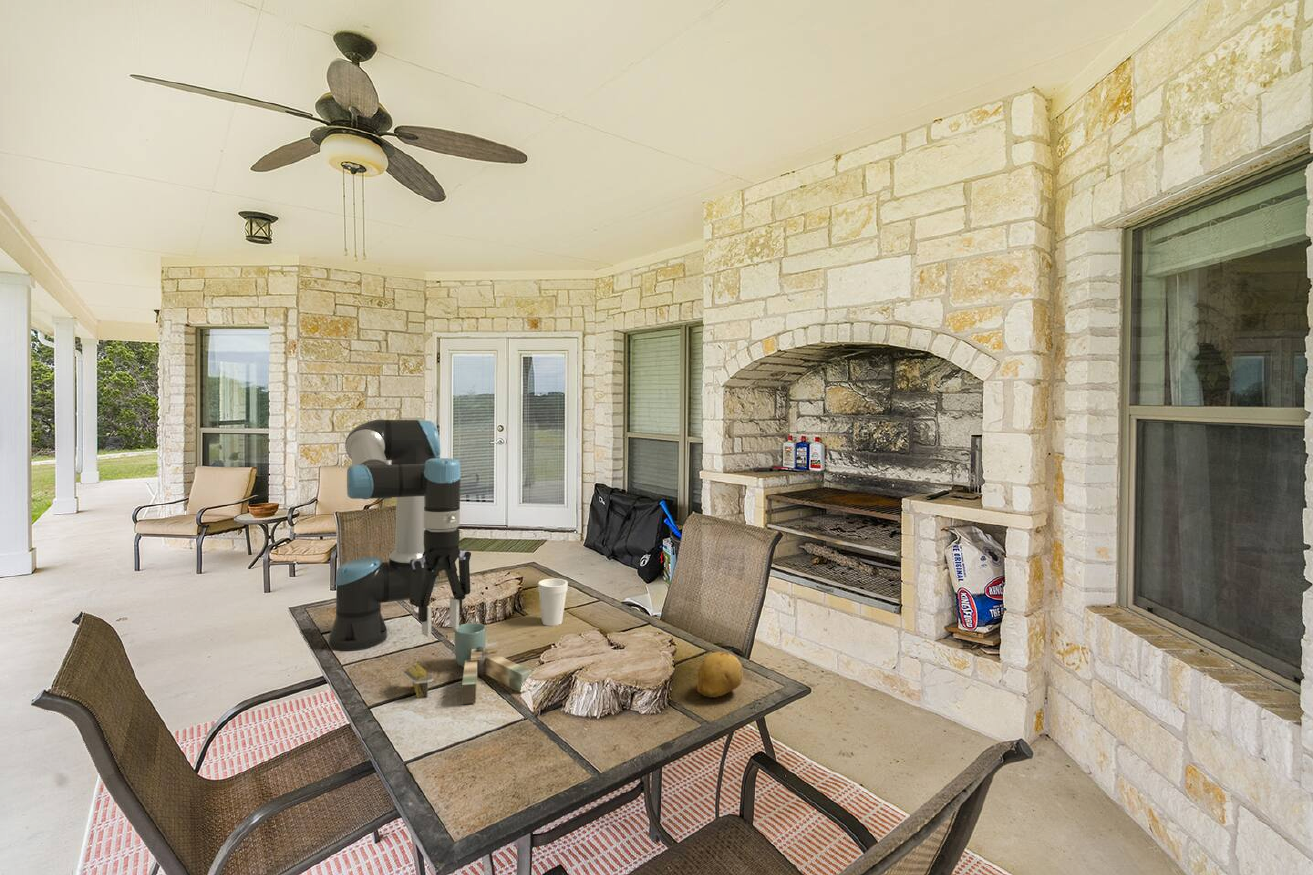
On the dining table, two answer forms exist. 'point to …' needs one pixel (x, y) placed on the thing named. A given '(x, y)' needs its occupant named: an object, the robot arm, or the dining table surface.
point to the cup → (468, 640)
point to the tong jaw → (471, 676)
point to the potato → (719, 674)
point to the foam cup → (552, 600)
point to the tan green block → (502, 670)
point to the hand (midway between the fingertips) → (440, 630)
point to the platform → (419, 679)
